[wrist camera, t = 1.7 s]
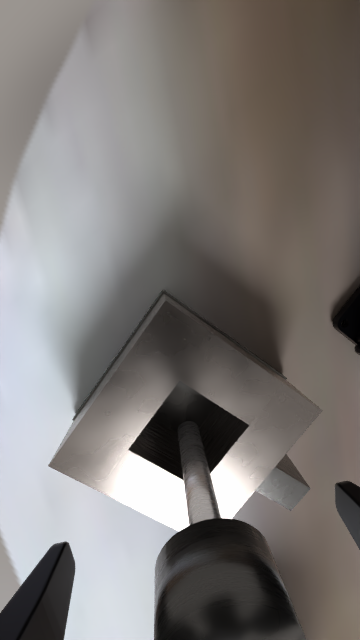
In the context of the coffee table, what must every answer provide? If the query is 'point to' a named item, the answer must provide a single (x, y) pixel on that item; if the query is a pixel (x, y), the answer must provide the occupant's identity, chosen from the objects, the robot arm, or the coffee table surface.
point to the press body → (186, 405)
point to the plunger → (217, 569)
